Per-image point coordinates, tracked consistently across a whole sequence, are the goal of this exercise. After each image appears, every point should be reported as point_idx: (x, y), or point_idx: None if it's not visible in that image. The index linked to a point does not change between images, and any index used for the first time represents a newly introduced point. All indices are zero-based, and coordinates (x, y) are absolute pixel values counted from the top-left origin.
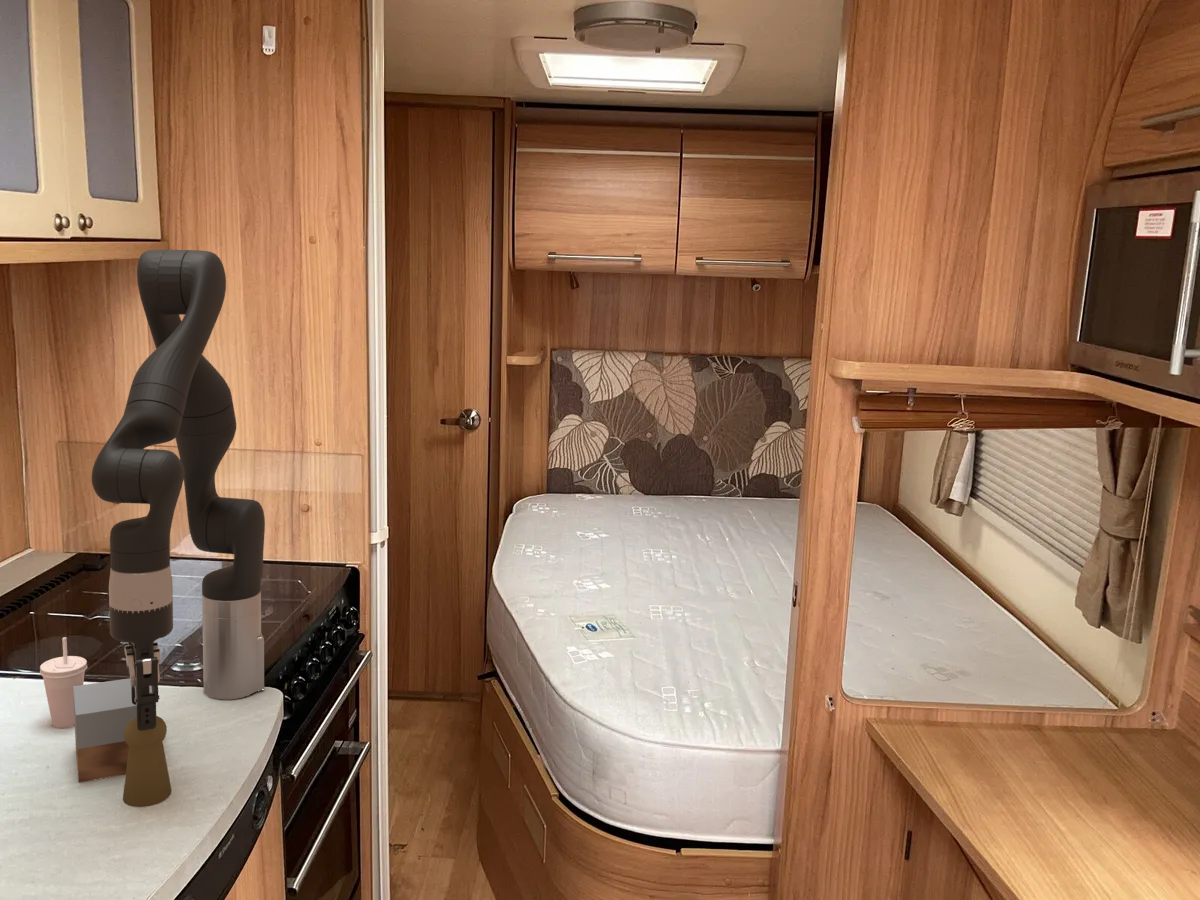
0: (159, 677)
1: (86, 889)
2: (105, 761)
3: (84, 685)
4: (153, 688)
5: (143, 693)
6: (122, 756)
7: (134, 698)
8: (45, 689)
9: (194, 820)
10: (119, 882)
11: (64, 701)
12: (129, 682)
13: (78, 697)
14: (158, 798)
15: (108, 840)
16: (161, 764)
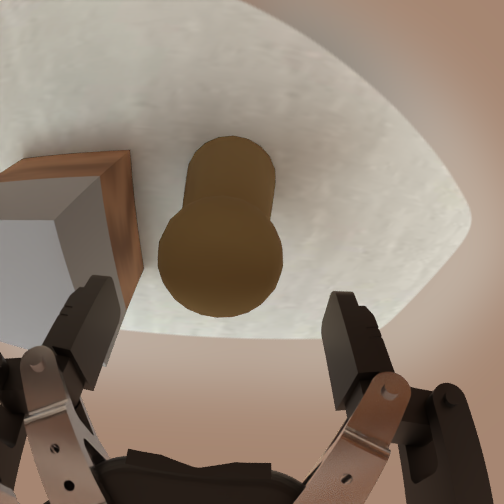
0: (383, 464)
1: (427, 280)
2: (128, 251)
3: None
4: (435, 443)
5: (102, 314)
6: (123, 226)
7: (112, 325)
8: None
9: (369, 124)
10: (442, 251)
11: None
12: None
13: (31, 346)
14: (272, 168)
15: (346, 250)
16: (258, 183)
